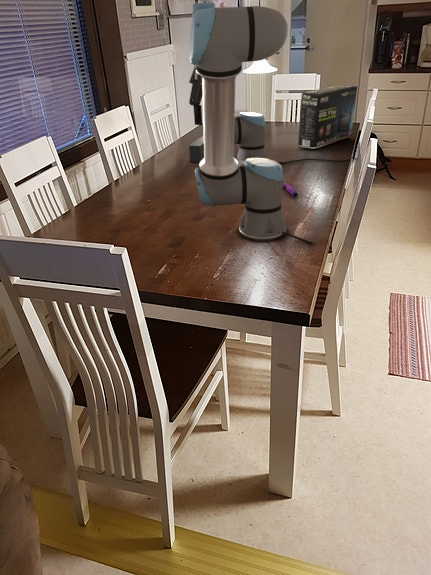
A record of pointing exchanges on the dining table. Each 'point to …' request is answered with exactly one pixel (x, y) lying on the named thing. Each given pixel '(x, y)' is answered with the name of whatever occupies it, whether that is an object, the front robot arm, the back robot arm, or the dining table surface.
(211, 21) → the front robot arm
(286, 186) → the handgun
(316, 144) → the router box
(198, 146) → the bar
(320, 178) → the dining table surface
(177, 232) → the dining table surface
